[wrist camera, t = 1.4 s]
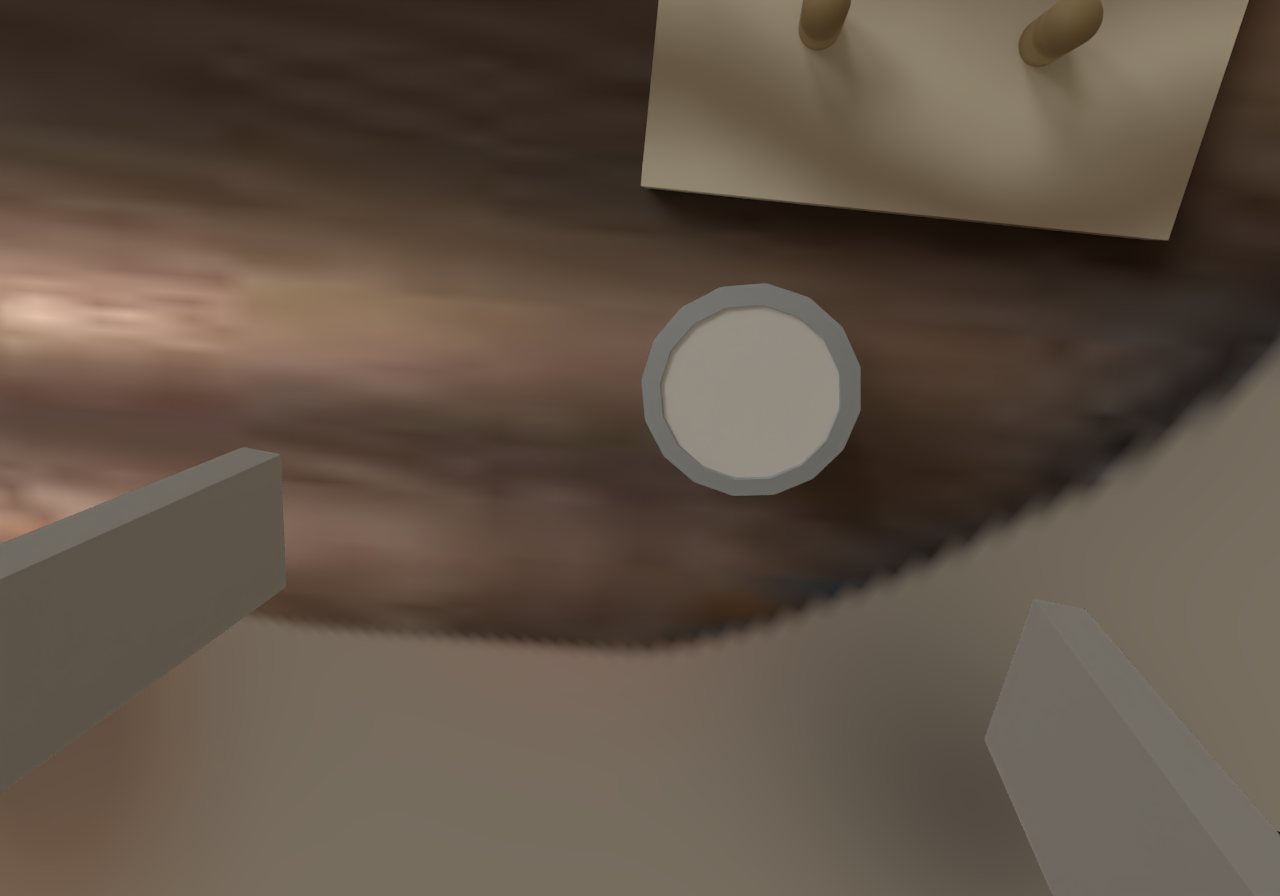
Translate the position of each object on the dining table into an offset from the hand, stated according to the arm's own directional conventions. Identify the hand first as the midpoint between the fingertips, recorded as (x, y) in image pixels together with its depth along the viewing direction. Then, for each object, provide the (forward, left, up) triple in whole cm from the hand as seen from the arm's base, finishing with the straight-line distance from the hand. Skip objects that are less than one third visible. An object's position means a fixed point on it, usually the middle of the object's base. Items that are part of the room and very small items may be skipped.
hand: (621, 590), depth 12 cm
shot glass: (-1, +2, -18) cm, 18 cm away
